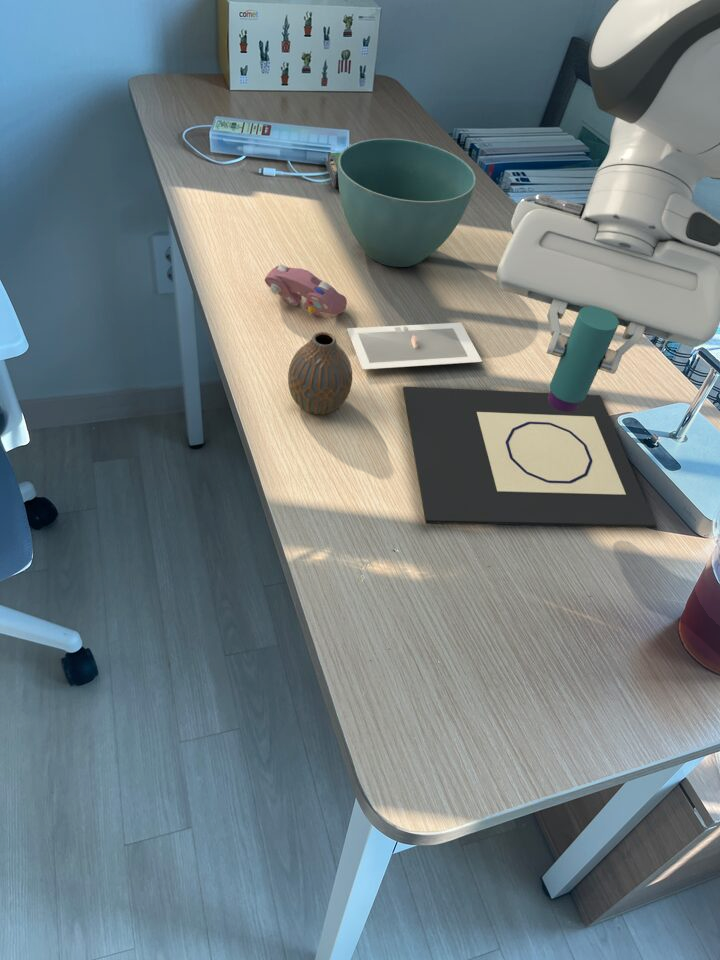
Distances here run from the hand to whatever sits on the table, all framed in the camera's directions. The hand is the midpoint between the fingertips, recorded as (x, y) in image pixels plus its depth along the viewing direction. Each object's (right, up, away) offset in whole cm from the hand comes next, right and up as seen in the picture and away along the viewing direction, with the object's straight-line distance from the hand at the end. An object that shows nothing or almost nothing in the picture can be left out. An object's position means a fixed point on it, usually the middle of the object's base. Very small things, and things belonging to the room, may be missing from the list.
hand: (580, 362), depth 70 cm
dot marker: (-1, -3, +4) cm, 5 cm away
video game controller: (-28, +11, +26) cm, 40 cm away
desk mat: (-3, -8, +13) cm, 15 cm away
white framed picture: (-14, +5, +23) cm, 27 cm away
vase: (-25, -2, +14) cm, 29 cm away
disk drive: (-18, +39, +53) cm, 68 cm away
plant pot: (-16, +22, +38) cm, 47 cm away
